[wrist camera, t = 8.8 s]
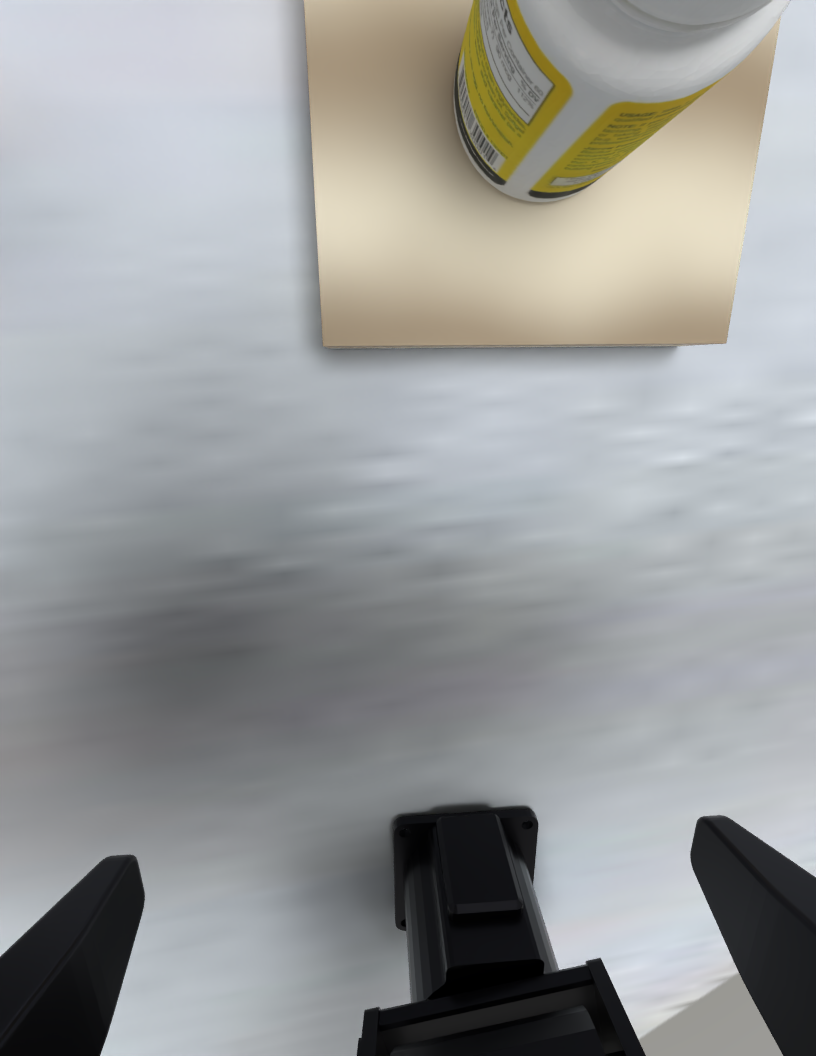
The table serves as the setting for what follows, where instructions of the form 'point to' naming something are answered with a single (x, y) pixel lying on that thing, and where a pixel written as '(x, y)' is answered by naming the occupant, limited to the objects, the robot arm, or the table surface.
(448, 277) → the birch base
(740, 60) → the supplement bottle
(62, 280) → the table surface
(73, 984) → the robot arm
